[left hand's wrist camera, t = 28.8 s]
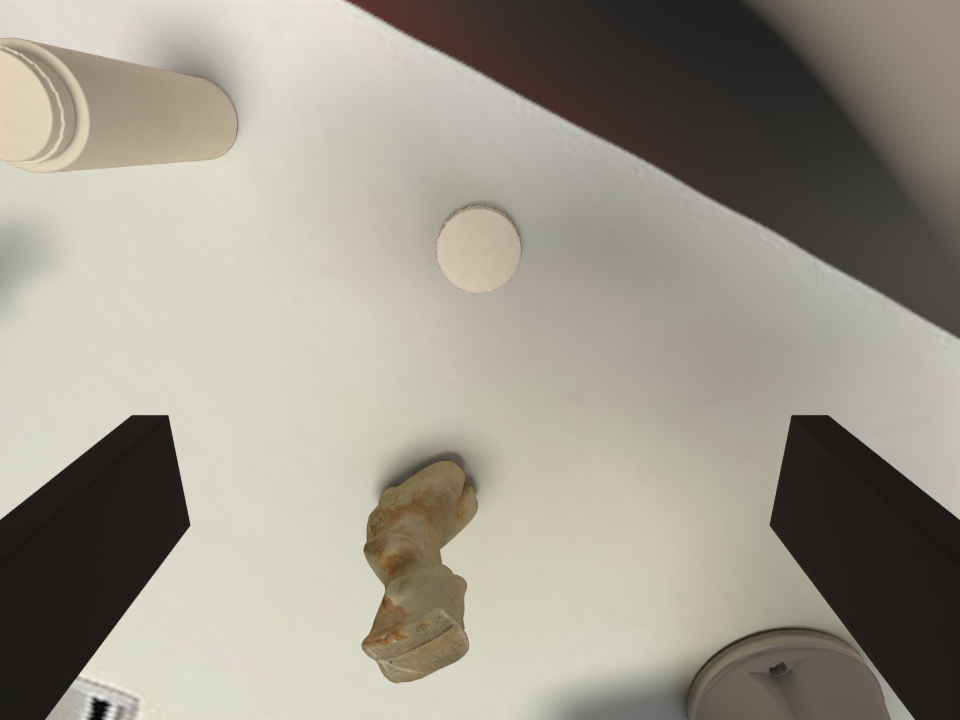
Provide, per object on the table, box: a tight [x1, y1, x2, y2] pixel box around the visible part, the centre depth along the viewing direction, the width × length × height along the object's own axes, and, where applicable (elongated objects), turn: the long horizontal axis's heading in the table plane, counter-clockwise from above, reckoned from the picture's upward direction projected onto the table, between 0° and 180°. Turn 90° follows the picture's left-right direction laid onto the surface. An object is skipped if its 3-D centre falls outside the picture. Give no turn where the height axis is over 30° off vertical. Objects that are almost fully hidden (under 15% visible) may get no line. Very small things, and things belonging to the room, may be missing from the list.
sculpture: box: [361, 461, 478, 683], centre depth 36 cm, size 6×7×15 cm
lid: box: [436, 205, 522, 293], centre depth 37 cm, size 5×5×2 cm
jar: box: [0, 38, 237, 173], centre depth 27 cm, size 4×4×16 cm
